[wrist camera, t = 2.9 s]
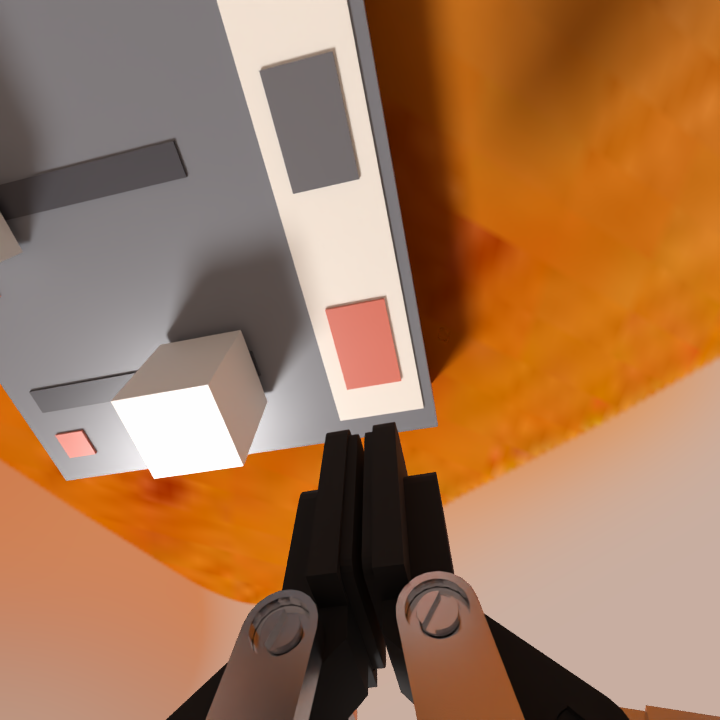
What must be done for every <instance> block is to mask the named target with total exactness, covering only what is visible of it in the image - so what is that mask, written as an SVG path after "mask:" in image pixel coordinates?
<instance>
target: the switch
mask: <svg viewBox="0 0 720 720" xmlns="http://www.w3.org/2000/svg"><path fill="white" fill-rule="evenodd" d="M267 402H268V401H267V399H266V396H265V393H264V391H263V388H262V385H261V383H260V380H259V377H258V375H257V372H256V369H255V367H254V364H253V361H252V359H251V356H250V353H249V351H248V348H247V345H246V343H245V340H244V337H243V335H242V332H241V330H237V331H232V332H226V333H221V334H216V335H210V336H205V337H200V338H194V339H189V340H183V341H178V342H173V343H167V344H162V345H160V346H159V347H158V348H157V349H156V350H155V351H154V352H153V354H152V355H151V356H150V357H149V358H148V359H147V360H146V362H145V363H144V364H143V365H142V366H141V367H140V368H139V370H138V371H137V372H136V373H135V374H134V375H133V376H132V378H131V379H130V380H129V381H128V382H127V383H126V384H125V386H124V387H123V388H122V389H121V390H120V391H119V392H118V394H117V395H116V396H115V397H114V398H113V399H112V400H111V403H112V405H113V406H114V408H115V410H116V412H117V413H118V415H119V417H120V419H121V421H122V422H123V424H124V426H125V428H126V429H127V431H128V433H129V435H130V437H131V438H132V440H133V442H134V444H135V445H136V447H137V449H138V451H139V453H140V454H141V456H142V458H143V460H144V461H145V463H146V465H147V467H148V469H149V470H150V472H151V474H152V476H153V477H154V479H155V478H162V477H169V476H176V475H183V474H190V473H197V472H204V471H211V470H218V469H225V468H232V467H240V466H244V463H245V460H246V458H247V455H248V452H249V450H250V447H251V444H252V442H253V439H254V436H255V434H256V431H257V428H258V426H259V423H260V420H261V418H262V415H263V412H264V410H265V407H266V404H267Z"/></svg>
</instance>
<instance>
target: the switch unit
mask: <svg viewBox="0 0 720 720" xmlns="http://www.w3.org/2000/svg"><path fill="white" fill-rule="evenodd" d="M0 212H1V214H2V216H3V218H4V219H5V221H6V223H7V225H8V226H9V228H10V230H11V232H12V233H13V235H14V237H15V239H16V240H17V242H18V244H19V246H20V248H21V249H22V251H23V252H22V253H20V254H18V255H15V256H13V257H11V258H9V259H6V260H4V261H2V262H0V384H1V385H2V387H3V388H4V390H5V391H6V393H7V394H8V395H9V397H10V398H11V400H12V401H13V403H14V404H15V406H16V407H17V409H18V410H19V412H20V413H21V415H22V416H23V418H24V419H25V420H26V422H27V423H28V425H29V426H30V428H31V429H32V431H33V432H34V434H35V435H36V437H37V438H38V440H39V441H40V443H41V444H42V445H43V447H44V448H45V450H46V451H47V453H48V454H49V456H50V457H51V459H52V460H53V462H54V463H55V465H56V466H57V467H58V469H59V470H60V472H61V473H62V475H63V476H64V478H65V479H66V481H67V480H74V479H81V478H88V477H95V476H102V475H108V474H115V473H122V472H129V471H136V470H143V469H148V467H147V465H146V463H145V461H144V460H143V458H142V456H141V454H140V453H139V451H138V449H137V447H136V445H135V444H134V442H133V440H132V438H131V437H130V435H129V433H128V431H127V429H126V428H125V426H124V424H123V422H122V421H121V419H120V417H119V415H118V413H117V412H116V410H115V408H114V406H113V405H112V403H111V400H112V399H113V398H114V397H115V396H116V395H117V394H118V392H119V391H120V390H121V389H122V388H123V387H124V386H125V384H126V383H127V382H128V381H129V380H130V379H131V378H132V376H133V375H134V374H135V373H136V372H137V371H138V370H139V368H140V367H141V366H142V365H143V364H144V363H145V362H146V360H147V359H148V358H149V357H150V356H151V355H152V354H153V352H154V351H155V350H156V349H157V348H158V347H159V346H160V345H162V344H167V343H173V342H178V341H183V340H189V339H194V338H200V337H205V336H210V335H216V334H221V333H226V332H232V331H237V330H241V332H242V335H243V337H244V340H245V343H246V345H247V348H248V351H249V353H250V356H251V359H252V361H253V364H254V367H255V369H256V372H257V375H258V377H259V380H260V383H261V385H262V388H263V391H264V393H265V396H266V399H267V401H268V402H267V404H266V407H265V410H264V412H263V415H262V418H261V420H260V423H259V426H258V428H257V431H256V434H255V436H254V439H253V442H252V444H251V447H250V450H249V452H248V454H252V453H259V452H266V451H273V450H279V449H286V448H293V447H300V446H307V445H314V444H320V443H325V437H326V434H327V433H330V432H336V431H342V430H348V429H349V430H350V432H351V434H352V435H354V434H359V436H360V438H361V437H365V433H367V432H372V427H373V425H378V424H384V423H390V422H395V423H396V426H397V430H398V432H402V431H409V430H416V429H423V428H430V427H437V426H438V423H437V417H436V410H435V404H434V398H433V391H432V385H431V379H430V373H429V368H428V362H427V356H426V350H425V345H424V339H423V333H422V328H421V322H420V316H419V310H418V305H417V299H416V293H415V287H414V282H413V276H412V270H411V265H410V259H409V253H408V247H407V242H406V236H405V230H404V225H403V219H402V213H401V207H400V202H399V196H398V190H397V184H396V179H395V173H394V167H393V162H392V156H391V150H390V144H389V139H388V133H387V127H386V121H385V116H384V110H383V104H382V99H381V93H380V87H379V81H378V76H377V70H376V64H375V59H374V53H373V47H372V41H371V36H370V30H369V24H368V18H367V13H366V7H365V1H364V0H0Z"/></svg>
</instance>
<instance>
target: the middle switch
mask: <svg viewBox="0 0 720 720" xmlns="http://www.w3.org/2000/svg"><path fill="white" fill-rule="evenodd" d="M22 252H23V251H22V249H21V248H20V246H19V244H18V242H17V240H16V239H15V237H14V235H13V233H12V232H11V230H10V228H9V226H8V225H7V223H6V221H5V219H4V218H3V216H2V214H1V212H0V262H2V261H4V260H6V259H9V258H11V257H13V256H15V255H18V254H20V253H22Z"/></svg>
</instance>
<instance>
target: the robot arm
mask: <svg viewBox="0 0 720 720" xmlns="http://www.w3.org/2000/svg"><path fill="white" fill-rule="evenodd" d="M386 647H387V650H388V654H389V657H390V660H391V663H392V666H393V668H394V671H395V674H396V678H397V681H398V684H399V687H400V690H401V692H402V693H403V694H404V695H405V696H406V697H407V698H408V699H409V700H410V701H411V702H412V703H413V704H414V706H415V710H416V716H417V720H720V717H718V716H711V715H705V714H698V713H692V712H686V711H679V710H673V709H666V708H660V707H654V706H647V705H646V708H645V711H640V710H634V709H628V708H621V707H618V706H617V705H616V704H615V703H614V702H613V701H611V700H610V699H609V698H608V697H607V696H605V695H604V694H602V693H601V692H599V691H598V690H596V689H595V688H593V687H592V686H590V685H589V684H587V683H586V682H584V681H583V680H581V679H580V678H578V677H577V676H575V675H574V674H573V673H571V672H569V671H568V670H567V669H565V668H564V667H562V666H560V665H559V664H558V663H556V662H555V661H553V660H552V659H550V658H549V657H547V656H546V655H544V654H543V653H541V652H540V651H539V650H537V649H535V648H534V647H533V646H531V645H530V644H528V643H527V642H525V641H524V640H522V639H521V638H519V637H518V636H516V635H515V634H514V633H512V632H510V631H509V630H507V629H506V628H505V627H503V626H502V625H500V624H499V623H497V622H496V621H494V620H493V619H491V618H490V617H488V616H487V615H485V614H484V613H483V610H482V608H481V605H480V602H479V600H478V597H477V596H476V594H475V592H474V590H473V589H472V587H471V586H470V585H469V584H468V583H467V582H466V581H465V580H463V579H462V578H461V577H458V576H456V575H454V570H453V564H452V558H451V552H450V546H449V541H448V535H447V529H446V523H445V518H444V512H443V507H442V501H441V496H440V490H439V485H438V480H437V475H436V472H433V473H426V474H420V475H413V476H408V475H407V470H406V466H405V461H404V457H403V452H402V448H401V444H400V439H399V435H398V430H397V426H396V423H395V422H390V423H384V424H378V425H373V427H372V432H367V433H365V441H364V450H363V446H362V442H361V439H360V436H359V434H354V435H352V434H351V432H350V430H349V429H348V430H342V431H336V432H330V433H327V434H326V437H325V444H324V451H323V458H322V465H321V472H320V479H319V486H318V490H313V491H307V492H302V494H301V495H300V498H299V503H298V508H297V513H296V519H295V524H294V529H293V535H292V540H291V545H290V551H289V556H288V561H287V567H286V572H285V577H284V583H283V588H282V591H278V592H276V593H274V594H271V595H269V596H267V597H266V598H264V599H263V600H262V601H260V602H259V603H258V604H257V605H256V606H255V607H254V608H253V609H252V610H251V612H250V613H249V614H248V616H247V618H246V620H245V621H244V624H243V626H242V628H241V631H240V633H239V636H238V638H237V641H236V643H235V646H234V649H233V651H232V654H231V656H230V659H229V661H228V663H226V664H225V665H224V666H223V667H222V668H221V669H220V670H219V671H218V672H217V673H216V674H215V675H214V676H212V677H211V678H210V679H209V680H208V681H207V682H206V683H205V684H204V685H203V686H202V687H201V688H200V689H199V690H197V691H196V692H195V693H194V694H193V695H192V696H191V697H190V698H189V699H188V700H187V701H186V702H185V703H183V704H182V705H181V706H180V707H179V708H178V709H177V710H176V711H175V712H174V713H173V714H172V715H171V716H169V718H167V719H166V720H357V708H358V706H359V705H360V704H361V703H362V702H363V700H364V699H365V698H366V697H367V696H368V688H370V687H377V669H378V668H385V667H386Z"/></svg>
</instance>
